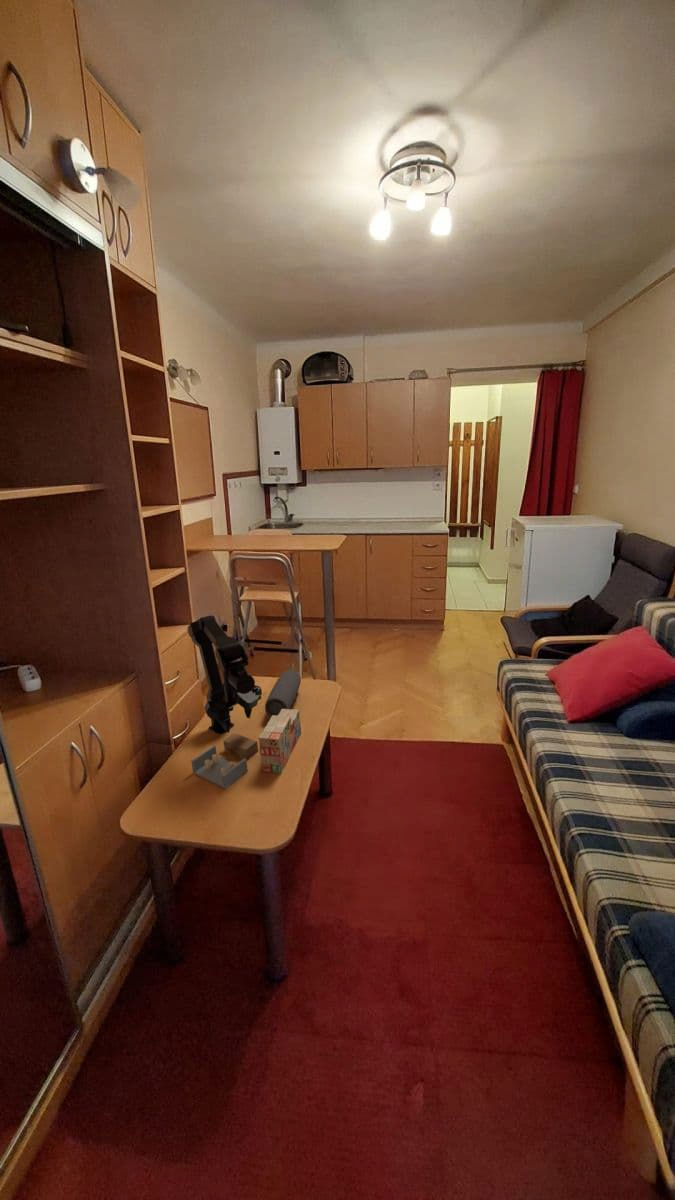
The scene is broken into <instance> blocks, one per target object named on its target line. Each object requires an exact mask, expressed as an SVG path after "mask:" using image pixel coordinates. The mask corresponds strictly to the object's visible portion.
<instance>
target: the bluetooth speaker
mask: <svg viewBox="0 0 675 1200" xmlns="http://www.w3.org/2000/svg"><path fill="white" fill-rule="evenodd" d="M301 681H302V679H301V676H300V674H299V672H297V671H296V670H293V669H287V670H284V671H283V672H282V673H281V675H280V676H279V677H278V678H277V680H276V682H275V683H274V685H273V687H272V689H271V691H270V692H269V694H268V696H267V699H266V700H265V701H266V702H265V706H264V710H265V713H266V714H267V715H268V717H270V718H271V717H272V715H275V716H278V714H279V713H280V711H281V709H291V707H292V705H293V704H294V702H295V700H296V697H297V695H298V692H299V690H300V689H299V688H300V686H301V683H302V682H301Z"/></svg>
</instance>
